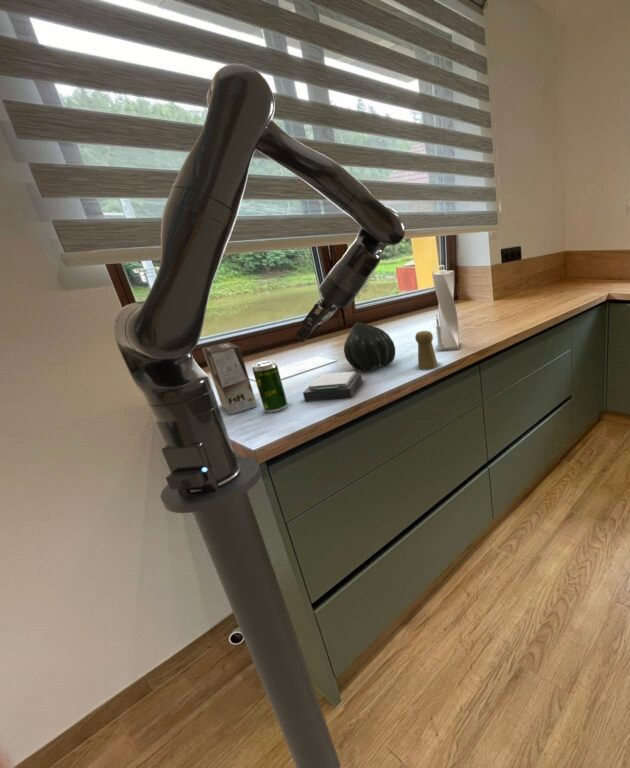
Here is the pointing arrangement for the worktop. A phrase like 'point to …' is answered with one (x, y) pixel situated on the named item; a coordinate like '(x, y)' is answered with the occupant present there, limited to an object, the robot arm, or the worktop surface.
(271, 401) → the beer can
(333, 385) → the scale
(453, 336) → the skyscraper
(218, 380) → the coffee box
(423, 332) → the cork
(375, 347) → the squash
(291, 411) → the worktop surface
